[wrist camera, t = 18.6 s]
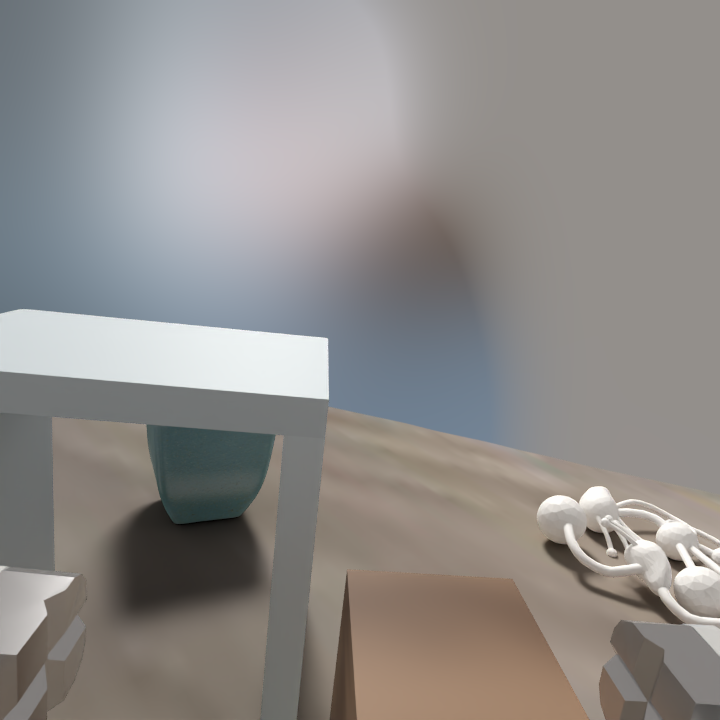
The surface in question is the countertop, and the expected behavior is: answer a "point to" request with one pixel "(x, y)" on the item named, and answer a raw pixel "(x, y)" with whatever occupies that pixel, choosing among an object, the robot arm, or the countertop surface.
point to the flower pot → (207, 470)
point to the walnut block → (444, 652)
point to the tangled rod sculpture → (642, 550)
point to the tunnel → (168, 408)
